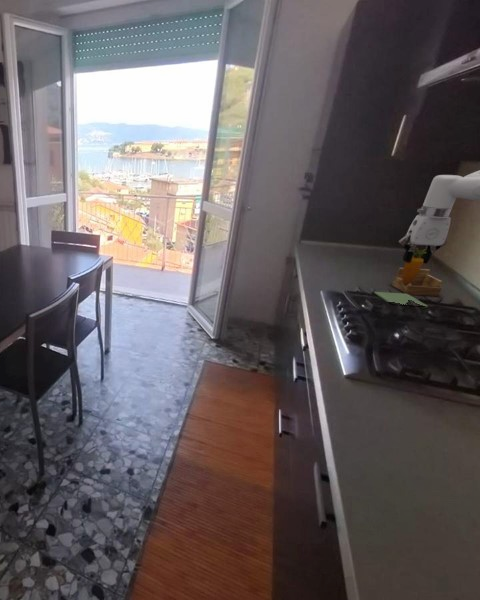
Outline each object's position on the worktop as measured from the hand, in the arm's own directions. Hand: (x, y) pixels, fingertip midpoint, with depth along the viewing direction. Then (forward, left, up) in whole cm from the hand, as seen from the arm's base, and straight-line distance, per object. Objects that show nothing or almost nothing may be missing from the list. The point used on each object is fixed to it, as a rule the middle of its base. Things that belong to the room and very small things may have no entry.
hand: (414, 261), depth 132 cm
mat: (0, 0, -16) cm, 16 cm away
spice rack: (+12, -12, -16) cm, 23 cm away
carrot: (0, 0, -10) cm, 10 cm away
